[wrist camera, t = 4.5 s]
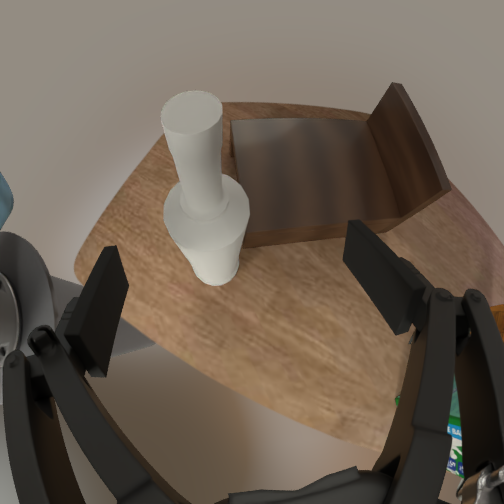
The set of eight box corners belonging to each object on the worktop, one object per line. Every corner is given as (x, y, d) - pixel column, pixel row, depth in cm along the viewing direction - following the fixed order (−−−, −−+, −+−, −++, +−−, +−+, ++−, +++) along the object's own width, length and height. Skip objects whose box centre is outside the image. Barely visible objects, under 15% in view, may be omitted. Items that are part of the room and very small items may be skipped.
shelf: (243, 248, 33) (254, 197, 20) (229, 148, 36) (232, 69, 23) (386, 232, 35) (452, 189, 22) (359, 145, 39) (401, 84, 25)
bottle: (185, 272, 32) (86, 142, 8) (208, 234, 33) (177, 52, 9) (224, 295, 32) (216, 209, 7) (246, 256, 33) (296, 95, 9)
